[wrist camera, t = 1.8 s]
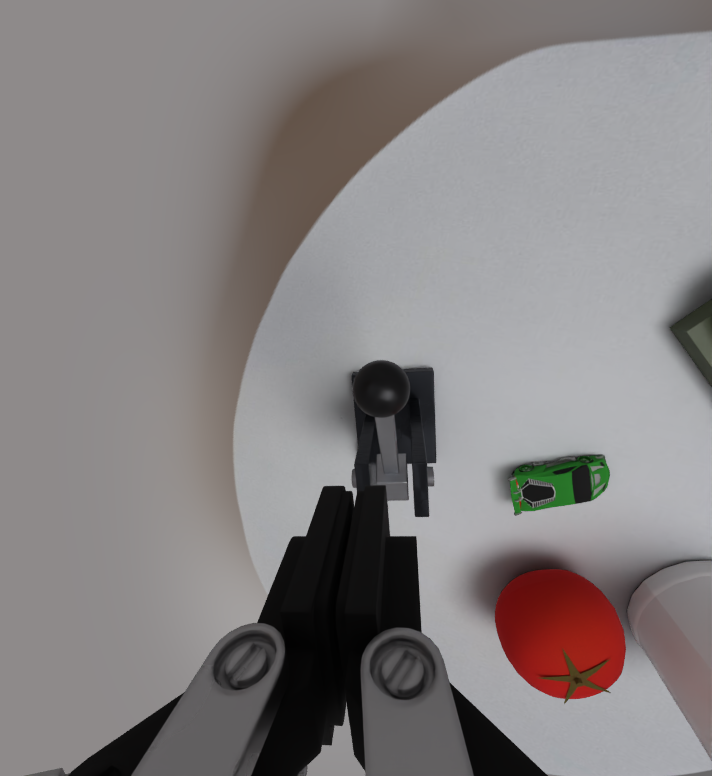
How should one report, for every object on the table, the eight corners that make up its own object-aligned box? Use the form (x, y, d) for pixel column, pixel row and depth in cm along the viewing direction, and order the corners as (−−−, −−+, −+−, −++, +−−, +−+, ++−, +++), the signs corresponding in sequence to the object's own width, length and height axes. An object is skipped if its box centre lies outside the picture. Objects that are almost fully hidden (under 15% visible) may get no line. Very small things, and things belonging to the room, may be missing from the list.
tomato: (509, 638, 48) (537, 736, 38) (471, 568, 45) (491, 654, 35) (609, 611, 45) (667, 710, 35) (575, 534, 42) (628, 619, 32)
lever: (350, 350, 22) (346, 393, 19) (408, 346, 21) (410, 390, 19) (373, 468, 31) (372, 506, 29) (413, 467, 31) (415, 505, 29)
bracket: (352, 371, 39) (328, 428, 26) (432, 367, 38) (448, 423, 25) (361, 459, 42) (343, 549, 29) (435, 457, 41) (451, 549, 28)
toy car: (605, 449, 39) (617, 461, 37) (608, 489, 40) (620, 502, 38) (502, 466, 41) (508, 478, 38) (509, 504, 42) (515, 517, 40)
